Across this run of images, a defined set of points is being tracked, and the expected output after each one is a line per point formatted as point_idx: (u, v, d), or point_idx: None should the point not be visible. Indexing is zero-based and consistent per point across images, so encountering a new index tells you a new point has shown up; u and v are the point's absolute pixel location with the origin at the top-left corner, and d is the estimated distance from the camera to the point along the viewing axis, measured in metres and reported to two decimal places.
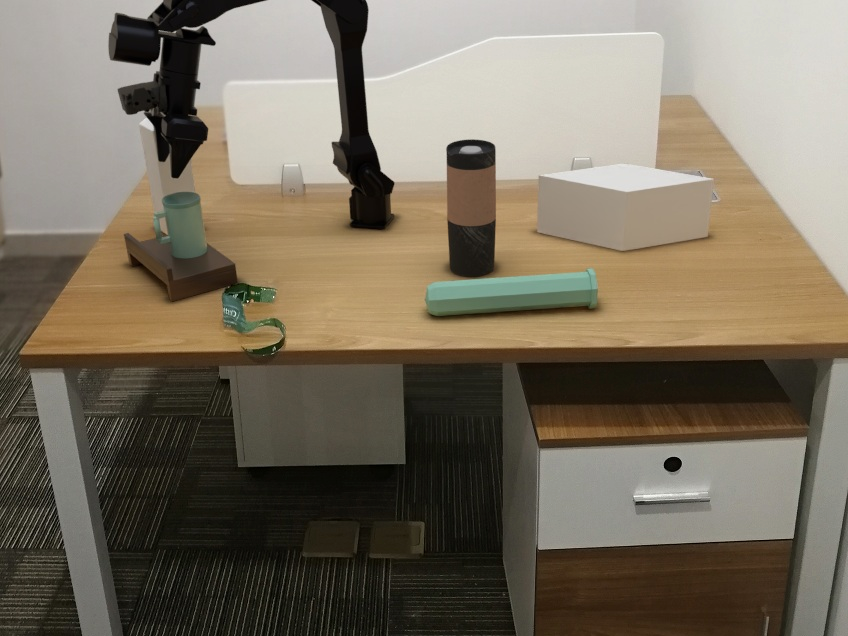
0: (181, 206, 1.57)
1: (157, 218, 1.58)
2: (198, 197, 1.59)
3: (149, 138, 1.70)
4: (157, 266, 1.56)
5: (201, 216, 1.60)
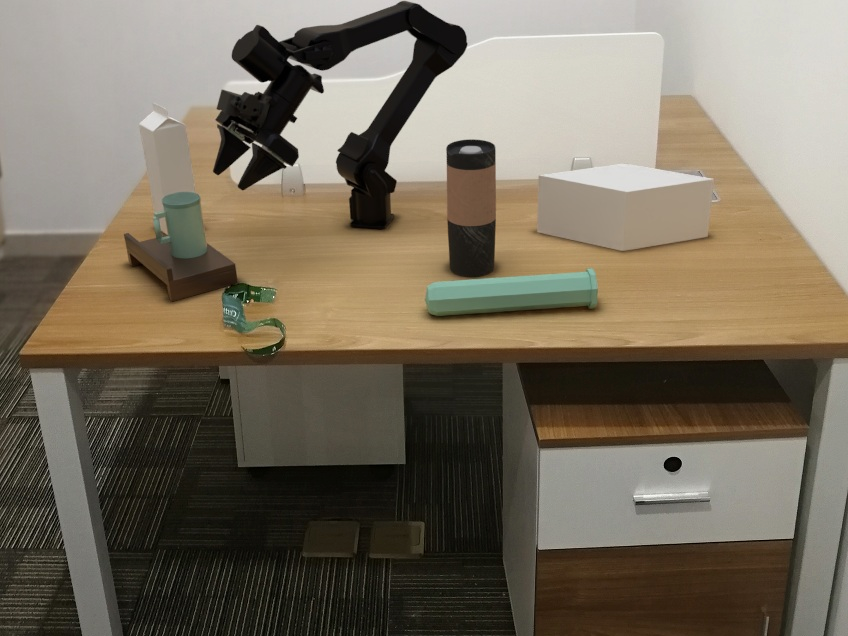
0: (181, 206, 1.57)
1: (157, 218, 1.58)
2: (198, 197, 1.59)
3: (149, 138, 1.70)
4: (157, 266, 1.56)
5: (201, 216, 1.60)
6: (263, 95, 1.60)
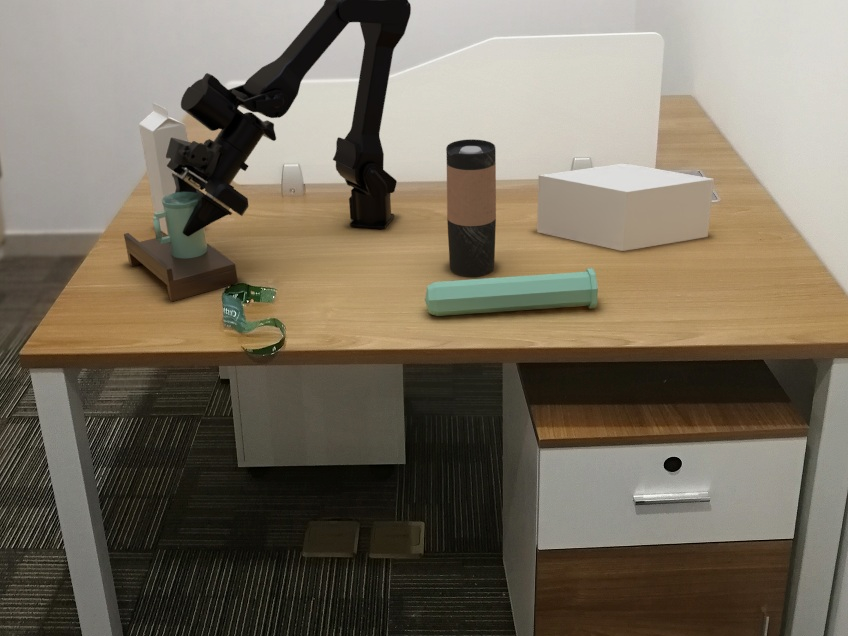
0: (181, 206, 1.57)
1: (157, 218, 1.58)
2: None
3: (149, 138, 1.70)
4: (157, 266, 1.56)
5: None
6: (213, 143, 1.59)
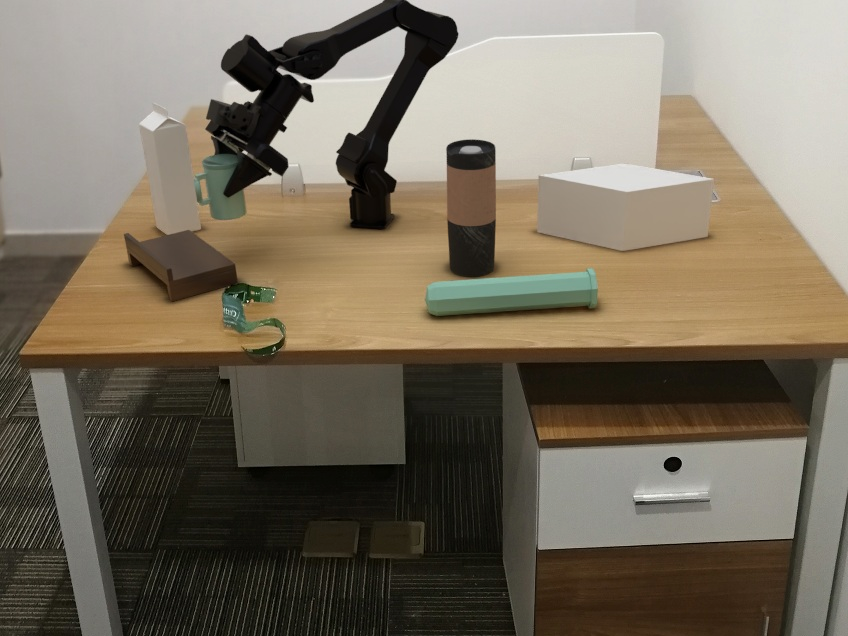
0: (222, 167, 1.58)
1: (198, 179, 1.59)
2: None
3: (149, 138, 1.70)
4: (157, 266, 1.56)
5: None
6: (253, 105, 1.60)
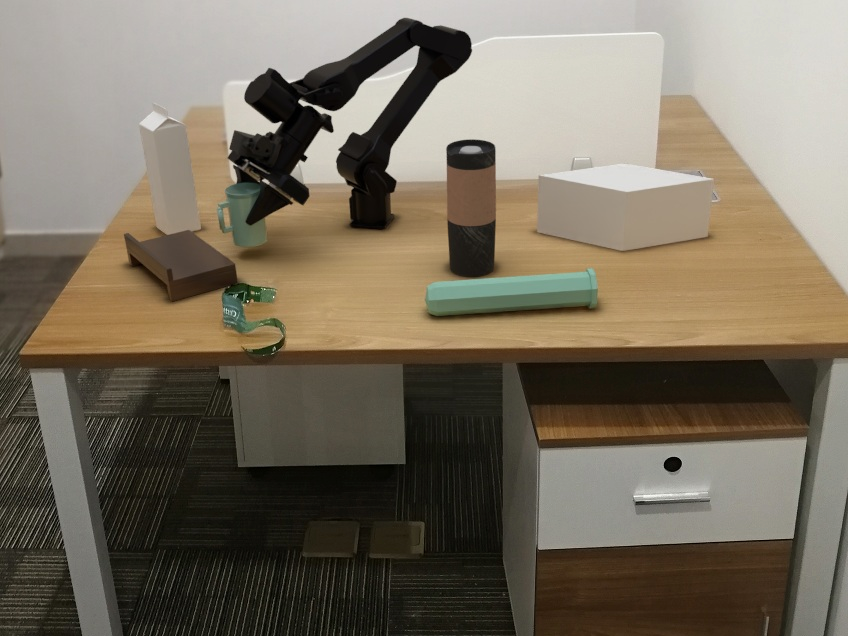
0: (244, 196, 1.62)
1: (221, 208, 1.63)
2: None
3: (149, 138, 1.70)
4: (157, 266, 1.56)
5: None
6: (274, 135, 1.64)
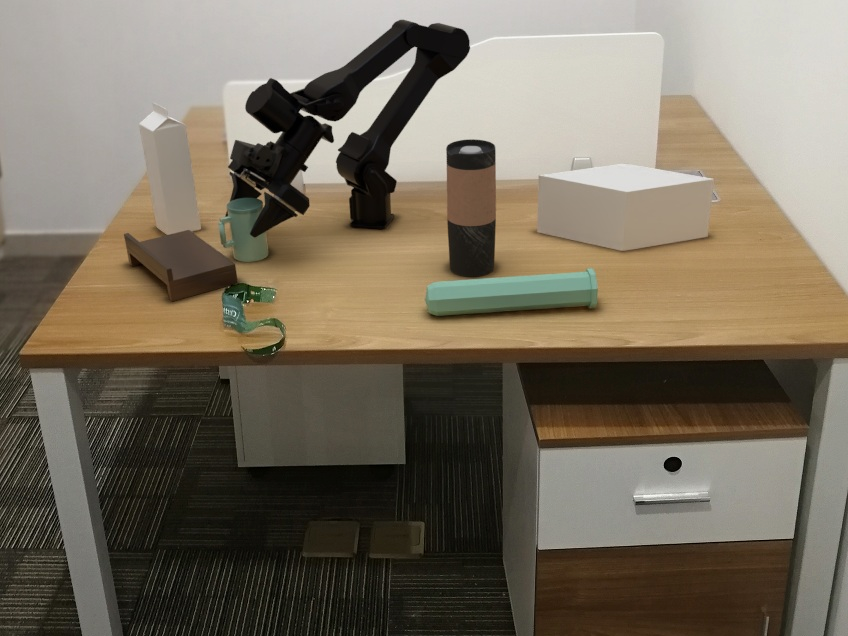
0: (246, 212, 1.64)
1: (222, 223, 1.64)
2: (261, 203, 1.66)
3: (149, 138, 1.70)
4: (157, 266, 1.56)
5: None
6: (275, 145, 1.65)
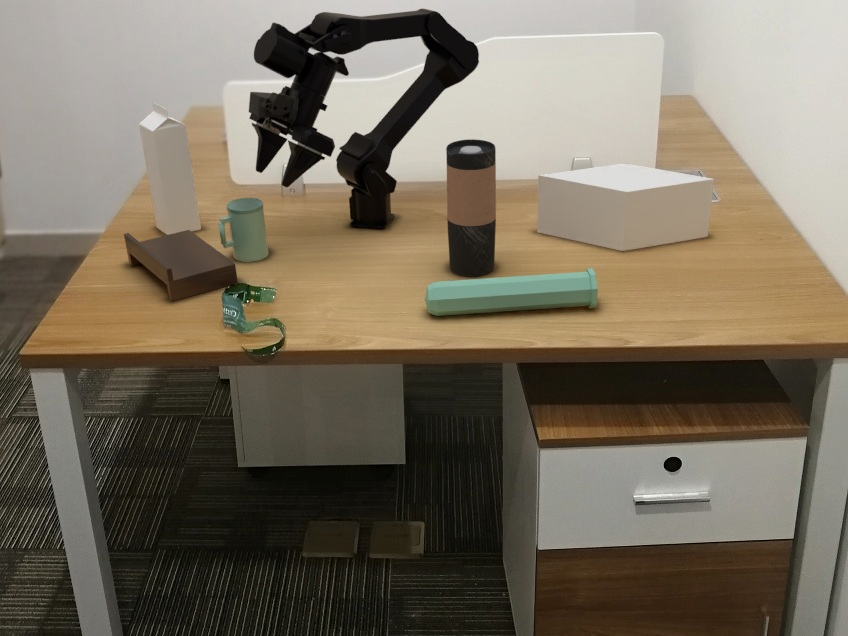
0: (246, 212, 1.64)
1: (222, 223, 1.64)
2: (261, 203, 1.66)
3: (149, 138, 1.70)
4: (157, 266, 1.56)
5: (263, 221, 1.67)
6: (291, 89, 1.63)
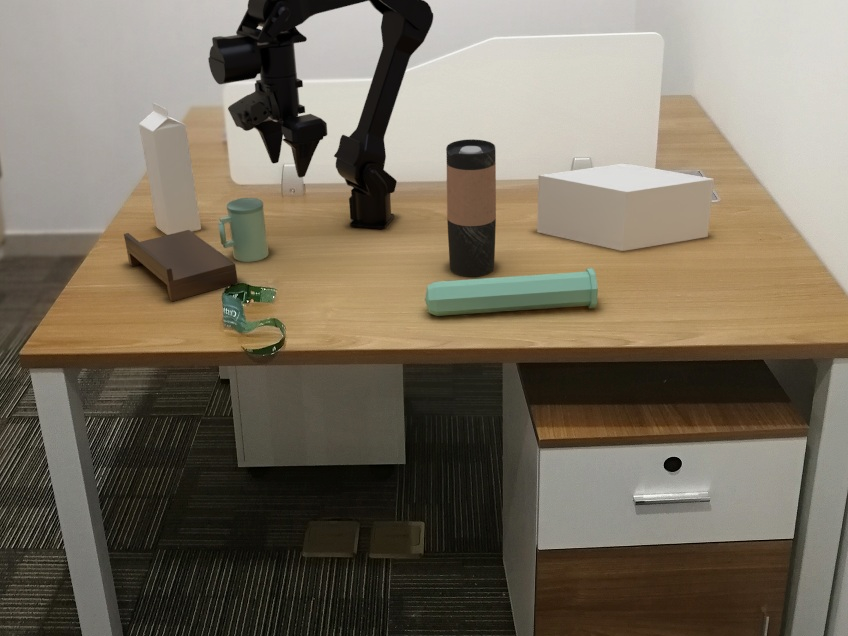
0: (246, 212, 1.64)
1: (222, 223, 1.64)
2: (261, 203, 1.66)
3: (149, 138, 1.70)
4: (157, 266, 1.56)
5: (263, 221, 1.67)
6: (262, 84, 1.60)
